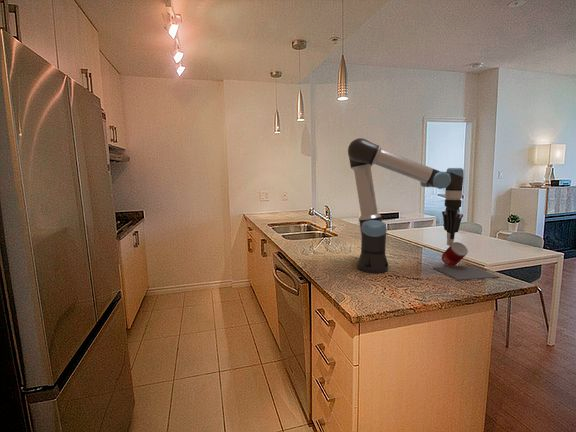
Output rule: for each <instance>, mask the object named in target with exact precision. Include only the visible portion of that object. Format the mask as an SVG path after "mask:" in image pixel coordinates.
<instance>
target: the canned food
mask: <svg viewBox="0 0 576 432" xmlns="http://www.w3.org/2000/svg"><path fill="white" fill-rule="evenodd" d="M468 253H469V251H468V248H467V246H466V245H464V243H461V242H458V241H454V243H452V244H451V245H450V246H449V247H447V248H446V250H445V251H444V252H443V253H442V254H441V260H442V262H443V263H444V264H445V265H446V266H447V267H452V266H457V264H458V263H459V262H460V261H462V260H463V259H464V258H465V257H466V256H467V255H468Z"/></svg>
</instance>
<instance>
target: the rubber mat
mask: <svg viewBox="0 0 576 432" xmlns="http://www.w3.org/2000/svg"><path fill="white" fill-rule="evenodd" d="M432 269H433V270H435V271H437V272H439V273H440V274H441V273H442V274H444V275H445V276H448V277H450V278H452V279H453V280H455V281H457V282H458V281H461V280H462V281H471V280H470V279H477V280H486V279H485V278H493V279H500V276H498V275H496V274H493V273H491V272H489V271H486V270H484V269H481V268H478V267H476V266H474V265H454V266H438V267H437V266H436V267H432ZM462 281H461V282H462Z"/></svg>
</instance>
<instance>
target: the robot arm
mask: <svg viewBox="0 0 576 432" xmlns="http://www.w3.org/2000/svg"><path fill="white" fill-rule="evenodd" d="M347 155H348V159H349V166H350V169H352V170H353V171H354V172H353V173H354V178H355V184H356V191H357V197H358V198H357V199H358V203H359V204H358V205H359V210H360V217H359V218H358V222H359V228H360V231H359V232H360V234H361V235H360V236H361V239H360V240H361V245H360V249H361V250H360V254H359V257H358V259H357V262H356V269H358V270H359V271H362V272H365V273H371V274H372V273H373V274H380V273H387V272H388V271H389V261H388V259H387V256H386V255H387V254H386V247H387V245H386V244H387V243H386V242H387V231H388V229H387V224H386V223H385V222H384V221H383V220H382V215H381V214H380V213H379V212H378V207H377V200H376V194H375V187H374V186H375V185H374V179H373V173H372V167H373V166H374V165H377V166H379V167H382V168H384V169H386V170H390V171H391V172H394V173H397V174H399V175H402V176H405V177H407V178H410V179H413V180H416V181H418V182H420V185H421V187H423V188H435V189H436V188H437V189H440V190H441V189H445V191H444V192H445V193H444V198H445V199H444V206H445V210H444V211H442V212H441V213H442V214H441V215H442V218H443V219H442V220H443V230H444V231H446V246H449V247H450V245H451V244H452V243H454V242H455V234H456V233H459V231H460V230H459V229H460V227H461V223H462V219H463V217H464V214H463V213H461V212H460V208H461V207H462V198H463V185H464V178H465V177H464V174H465V173H464V171H465V170H464V168H462V167H448V168H447V169H446V170H445V171H440V170H438V169H435V168H433V167H429V166H427V165H424V164H422V163H419V162H417V161H414V160H412V159H409V158H407V157H404V156H401V155H398V154H396V153H392V152H391V151H388V150H385V149H383V148H382V147H381V146H380V145H379V144H375V143H373V142H371V141H369V140H368V139H367V138H366V139H365V138H362V137H361V138H359V137H358V138H355V139H354V140H352V141H351V142H350V144H349V146H348V148H347Z"/></svg>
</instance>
